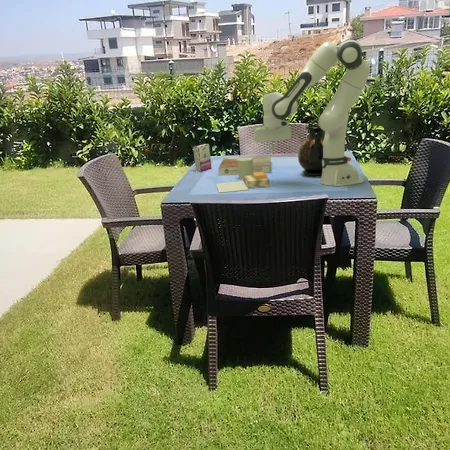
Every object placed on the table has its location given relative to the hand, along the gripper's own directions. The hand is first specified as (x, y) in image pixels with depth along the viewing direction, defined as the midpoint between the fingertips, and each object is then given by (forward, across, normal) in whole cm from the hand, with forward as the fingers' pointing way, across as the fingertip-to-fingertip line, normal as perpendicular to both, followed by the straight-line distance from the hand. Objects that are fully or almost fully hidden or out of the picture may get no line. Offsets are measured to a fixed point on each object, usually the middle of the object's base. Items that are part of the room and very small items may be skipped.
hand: (272, 148), depth 242 cm
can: (+19, -13, +18) cm, 29 cm away
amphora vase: (+19, +28, +11) cm, 36 cm away
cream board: (+19, -24, 0) cm, 31 cm away
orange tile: (+15, -8, 0) cm, 17 cm away
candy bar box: (+19, -36, +53) cm, 67 cm away
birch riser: (+19, -10, 0) cm, 22 cm away
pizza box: (+20, -9, +44) cm, 49 cm away
